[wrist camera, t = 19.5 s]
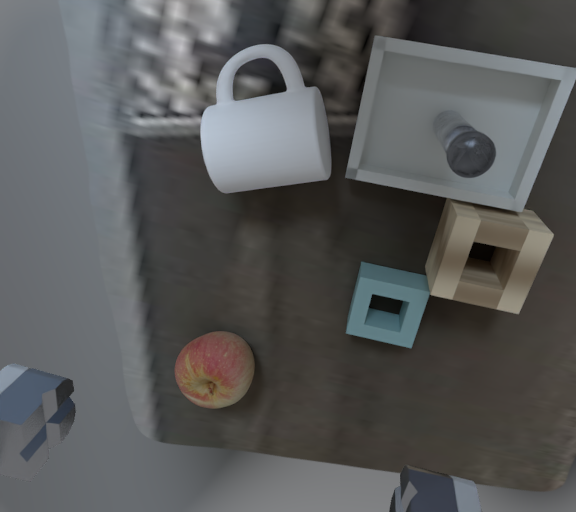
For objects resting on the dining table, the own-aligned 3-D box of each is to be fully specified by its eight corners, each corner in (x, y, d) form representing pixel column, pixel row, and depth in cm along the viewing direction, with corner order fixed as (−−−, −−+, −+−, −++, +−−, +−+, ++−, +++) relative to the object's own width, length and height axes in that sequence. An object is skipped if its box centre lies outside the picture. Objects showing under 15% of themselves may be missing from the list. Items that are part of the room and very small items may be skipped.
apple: (180, 332, 58) (152, 374, 51) (237, 307, 55) (216, 348, 47) (218, 383, 60) (196, 430, 53) (274, 362, 57) (259, 409, 50)
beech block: (448, 194, 44) (457, 215, 39) (532, 210, 44) (554, 234, 38) (424, 266, 48) (430, 295, 43) (503, 282, 47) (518, 314, 42)
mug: (334, 166, 45) (325, 190, 38) (239, 180, 48) (214, 205, 41) (314, 34, 41) (300, 33, 34) (210, 56, 43) (176, 60, 36)
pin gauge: (436, 104, 41) (455, 128, 30) (470, 111, 40) (502, 137, 30) (426, 138, 42) (441, 173, 31) (459, 145, 42) (486, 181, 31)
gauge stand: (361, 261, 49) (360, 276, 46) (427, 275, 48) (430, 292, 45) (347, 315, 52) (345, 333, 49) (409, 329, 52) (411, 348, 48)
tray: (375, 35, 40) (374, 35, 37) (566, 66, 38) (579, 68, 36) (347, 169, 45) (344, 177, 43) (513, 201, 44) (521, 212, 41)
